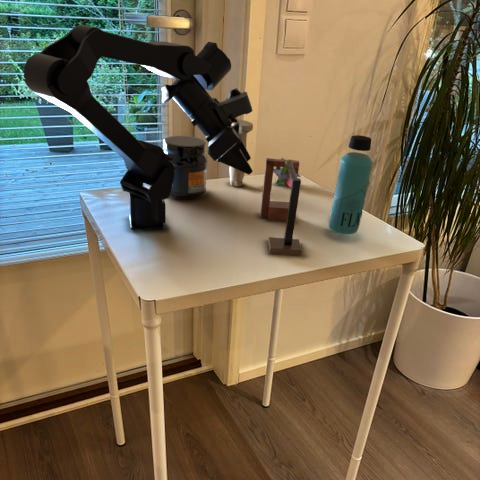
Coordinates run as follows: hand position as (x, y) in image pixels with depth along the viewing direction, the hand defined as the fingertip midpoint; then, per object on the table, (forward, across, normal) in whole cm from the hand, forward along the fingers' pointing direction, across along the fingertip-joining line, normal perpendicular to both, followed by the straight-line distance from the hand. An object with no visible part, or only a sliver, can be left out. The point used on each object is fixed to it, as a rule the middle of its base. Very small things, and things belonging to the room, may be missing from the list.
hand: (250, 166), depth 105 cm
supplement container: (-2, +11, +18) cm, 21 cm away
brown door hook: (+12, 0, +3) cm, 13 cm away
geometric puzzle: (+15, +22, 0) cm, 27 cm away
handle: (+6, +20, +9) cm, 23 cm away
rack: (+13, -10, +2) cm, 16 cm away
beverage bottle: (+22, -7, -6) cm, 24 cm away
